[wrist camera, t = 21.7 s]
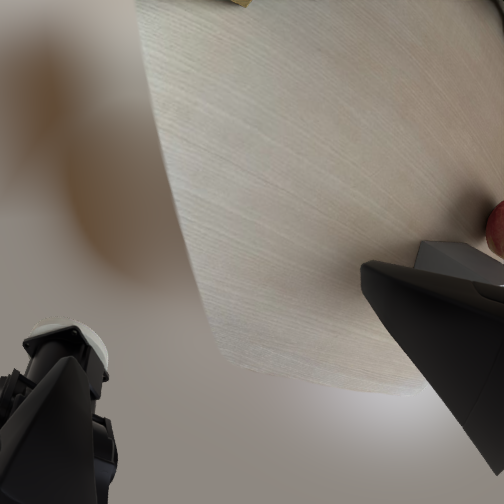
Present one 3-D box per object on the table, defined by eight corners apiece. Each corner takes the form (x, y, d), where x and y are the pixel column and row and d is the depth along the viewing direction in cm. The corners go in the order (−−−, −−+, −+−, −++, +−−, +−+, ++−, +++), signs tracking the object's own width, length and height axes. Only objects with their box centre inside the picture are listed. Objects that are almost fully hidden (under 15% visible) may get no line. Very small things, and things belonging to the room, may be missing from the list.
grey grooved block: (403, 298, 29) (465, 352, 21) (421, 240, 27) (496, 286, 18) (449, 292, 31) (505, 336, 23) (466, 242, 29) (529, 280, 21)
